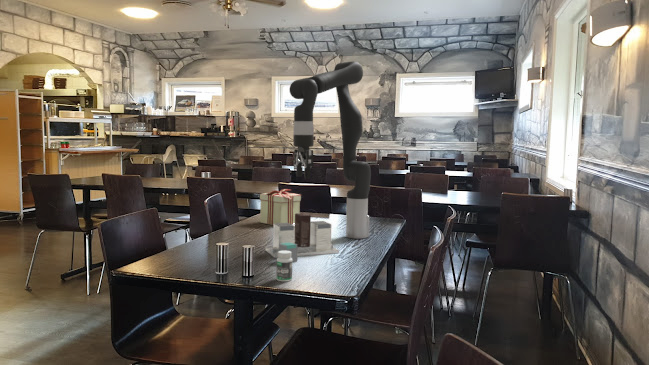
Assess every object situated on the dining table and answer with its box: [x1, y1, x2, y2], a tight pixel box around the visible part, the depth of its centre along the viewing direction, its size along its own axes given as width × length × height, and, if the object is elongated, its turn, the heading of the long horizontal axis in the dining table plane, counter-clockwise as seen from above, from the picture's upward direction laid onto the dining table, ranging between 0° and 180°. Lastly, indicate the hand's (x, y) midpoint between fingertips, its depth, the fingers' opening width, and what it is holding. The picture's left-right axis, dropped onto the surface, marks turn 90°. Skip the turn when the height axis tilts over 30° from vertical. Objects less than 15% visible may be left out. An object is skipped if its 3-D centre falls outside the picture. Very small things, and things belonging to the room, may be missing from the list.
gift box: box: [259, 188, 302, 226], centre depth 243 cm, size 17×18×17 cm
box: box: [294, 212, 312, 248], centre depth 180 cm, size 6×4×12 cm
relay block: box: [279, 242, 298, 263], centre depth 165 cm, size 5×4×6 cm
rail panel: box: [265, 220, 340, 259], centre depth 179 cm, size 25×12×11 cm, turn 112°
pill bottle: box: [275, 250, 294, 283], centre depth 143 cm, size 5×5×8 cm
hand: (303, 177), depth 180 cm, fingers open, 8 cm apart
